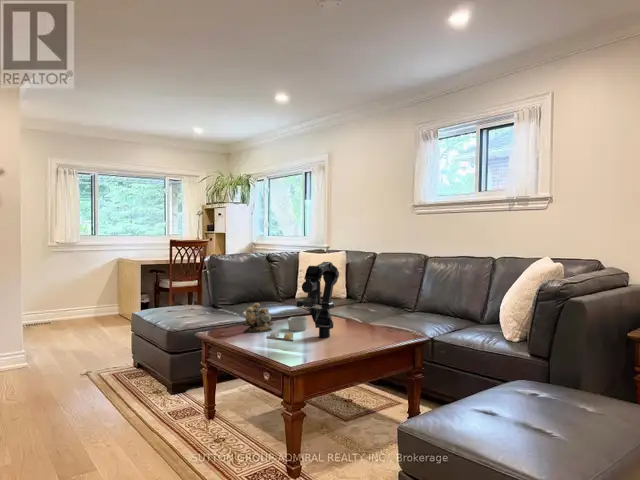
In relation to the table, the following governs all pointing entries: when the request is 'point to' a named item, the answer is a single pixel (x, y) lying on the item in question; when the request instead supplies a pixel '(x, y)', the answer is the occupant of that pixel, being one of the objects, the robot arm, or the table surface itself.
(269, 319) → the owl figurine
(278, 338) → the plate
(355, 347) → the table surface
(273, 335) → the block
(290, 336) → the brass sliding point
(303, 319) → the grey rounded container
